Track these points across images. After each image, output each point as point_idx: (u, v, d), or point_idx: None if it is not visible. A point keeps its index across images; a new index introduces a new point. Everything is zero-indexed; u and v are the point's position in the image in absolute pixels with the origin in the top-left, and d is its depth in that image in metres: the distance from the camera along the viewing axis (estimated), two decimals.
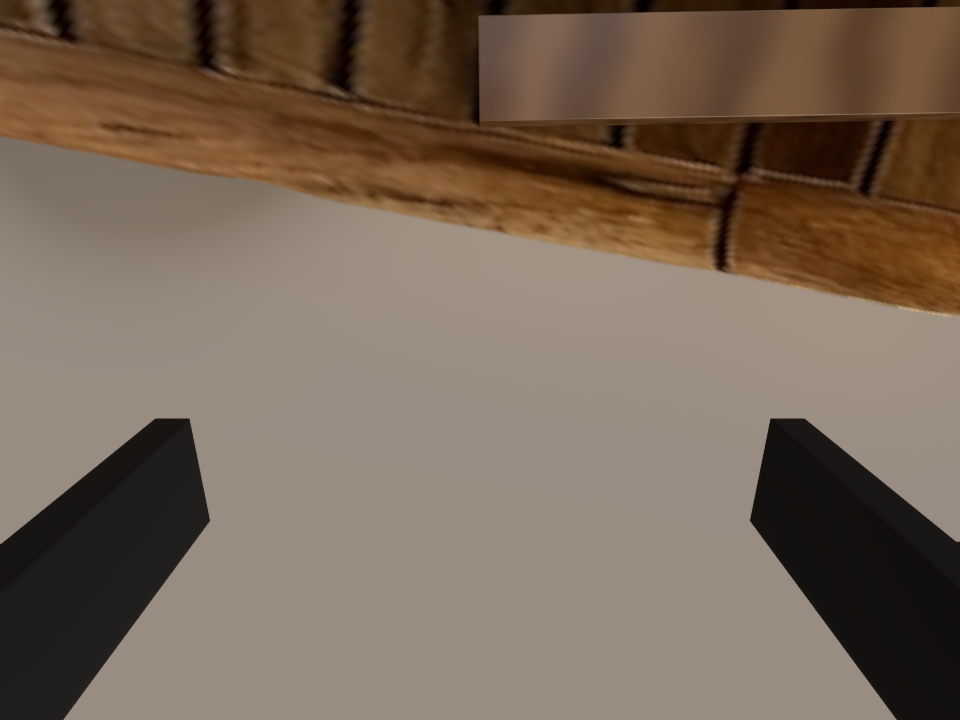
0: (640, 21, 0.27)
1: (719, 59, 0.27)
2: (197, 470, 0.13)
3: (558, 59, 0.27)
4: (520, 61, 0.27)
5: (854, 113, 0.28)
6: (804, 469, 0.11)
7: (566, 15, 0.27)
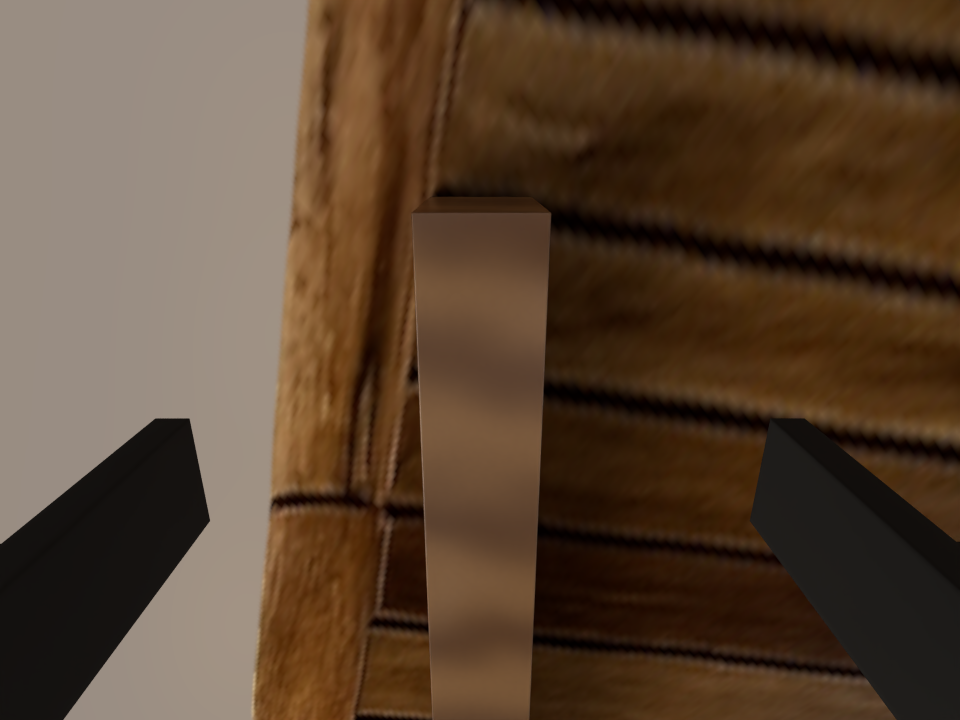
0: (532, 422, 0.21)
1: (487, 511, 0.23)
2: (197, 470, 0.13)
3: (491, 325, 0.20)
4: (491, 273, 0.19)
5: (430, 644, 0.25)
6: (803, 469, 0.11)
7: (543, 333, 0.20)
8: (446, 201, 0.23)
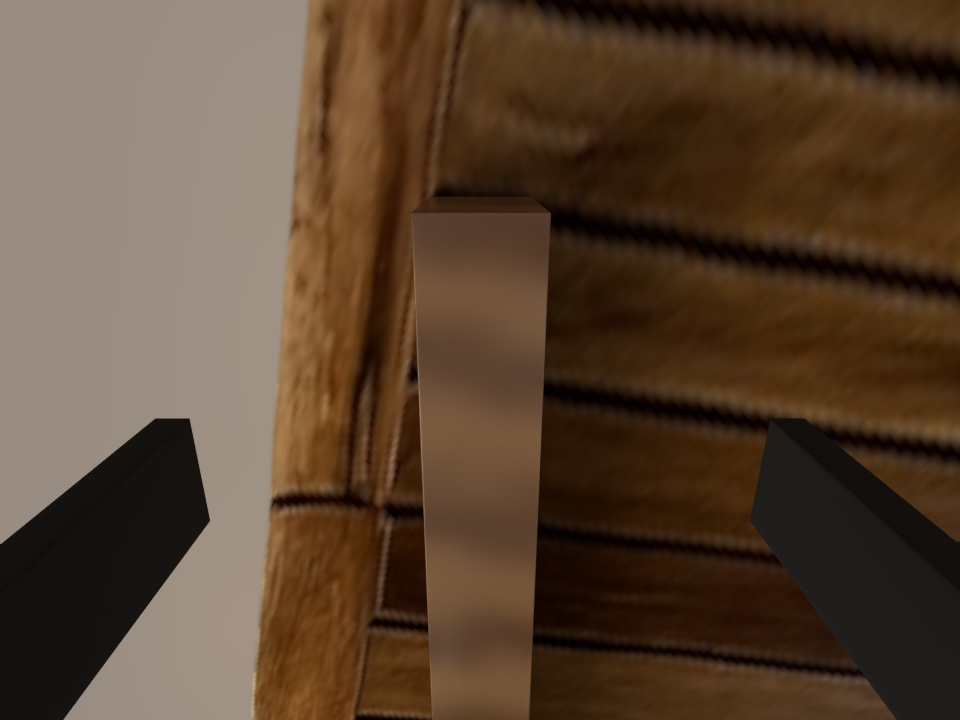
0: (531, 422, 0.21)
1: (487, 511, 0.23)
2: (197, 470, 0.13)
3: (491, 325, 0.20)
4: (491, 273, 0.19)
5: (430, 644, 0.25)
6: (803, 469, 0.11)
7: (543, 333, 0.20)
8: (446, 201, 0.23)
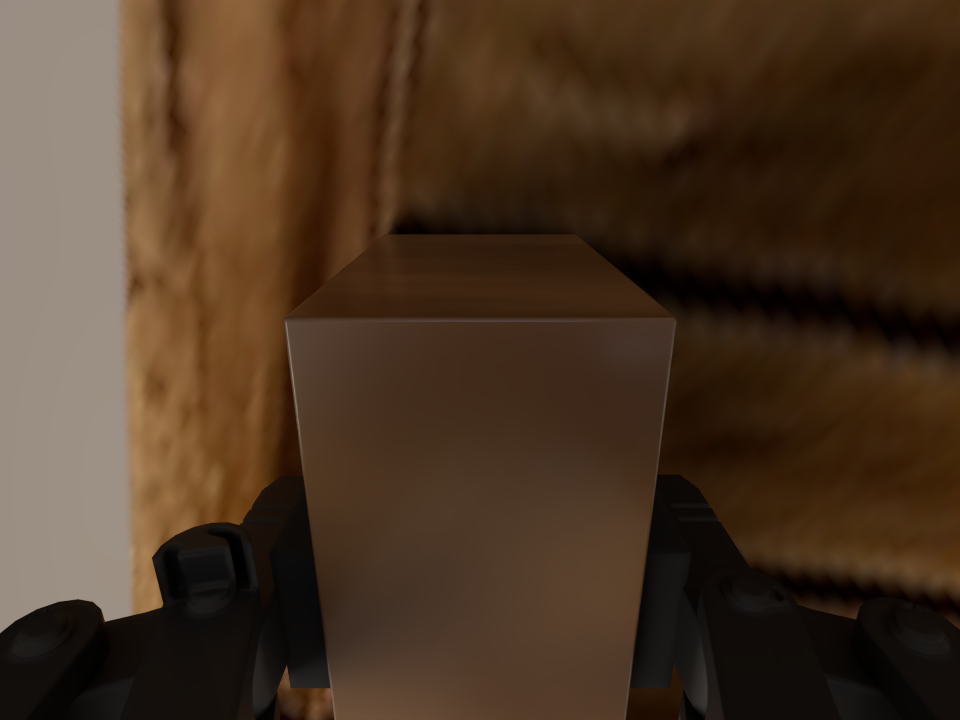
0: None
1: None
2: None
3: (506, 584, 0.08)
4: (507, 469, 0.07)
5: None
6: None
7: (636, 600, 0.08)
8: (407, 252, 0.11)
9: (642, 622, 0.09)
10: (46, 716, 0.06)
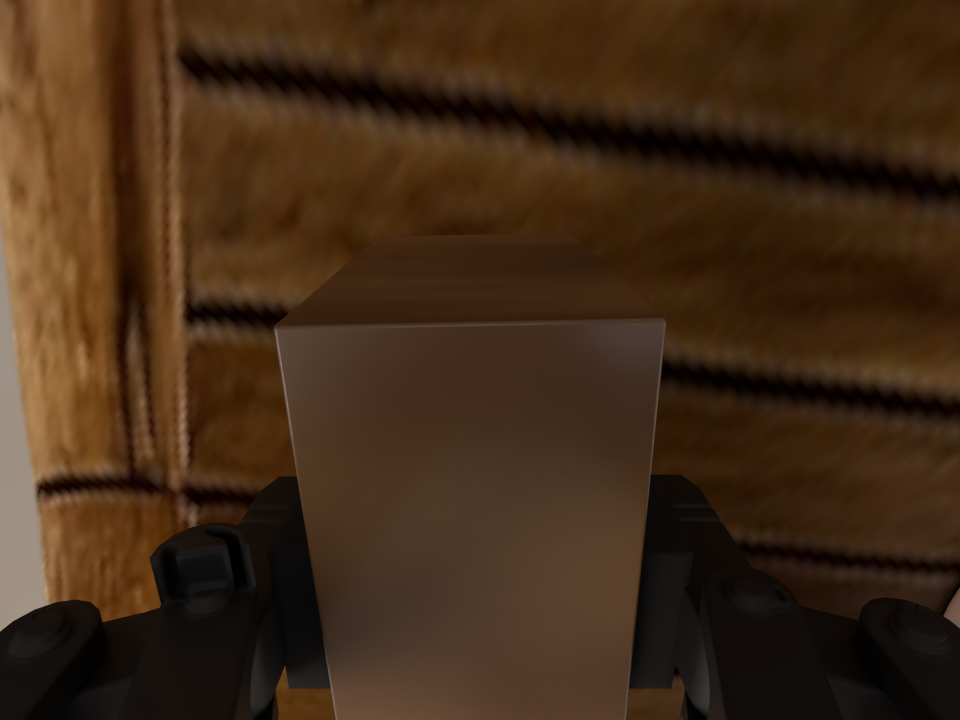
0: None
1: None
2: None
3: (503, 586, 0.08)
4: (501, 472, 0.07)
5: None
6: None
7: (633, 600, 0.08)
8: (400, 255, 0.11)
9: (644, 622, 0.09)
10: (43, 717, 0.06)
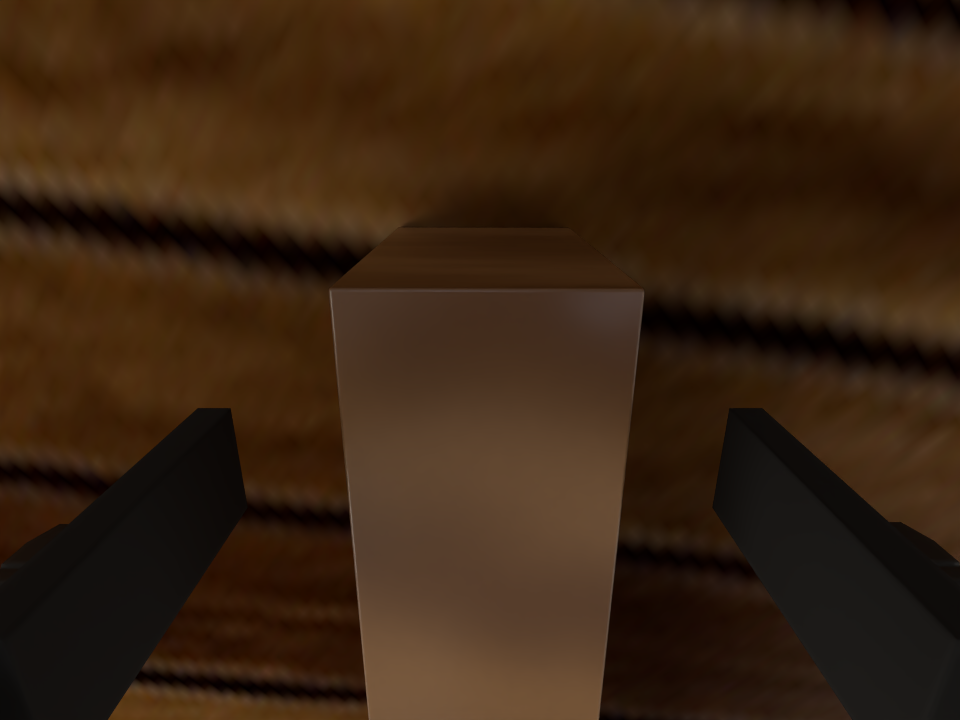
0: (583, 681, 0.11)
1: None
2: (237, 459, 0.13)
3: (507, 514, 0.10)
4: (508, 415, 0.09)
5: None
6: (757, 455, 0.12)
7: (615, 529, 0.10)
8: (421, 242, 0.12)
9: (939, 718, 0.07)
10: None
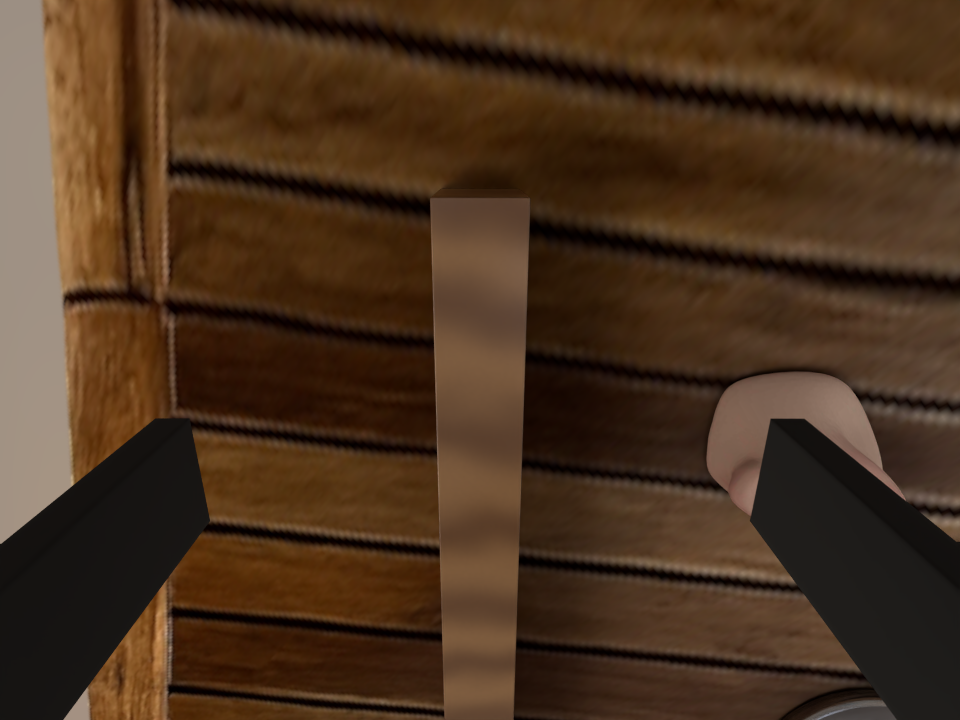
0: (517, 355, 0.29)
1: (484, 425, 0.30)
2: (197, 470, 0.13)
3: (487, 281, 0.27)
4: (487, 242, 0.27)
5: (440, 535, 0.33)
6: (804, 469, 0.11)
7: (525, 287, 0.27)
8: (454, 191, 0.30)
9: None
10: None
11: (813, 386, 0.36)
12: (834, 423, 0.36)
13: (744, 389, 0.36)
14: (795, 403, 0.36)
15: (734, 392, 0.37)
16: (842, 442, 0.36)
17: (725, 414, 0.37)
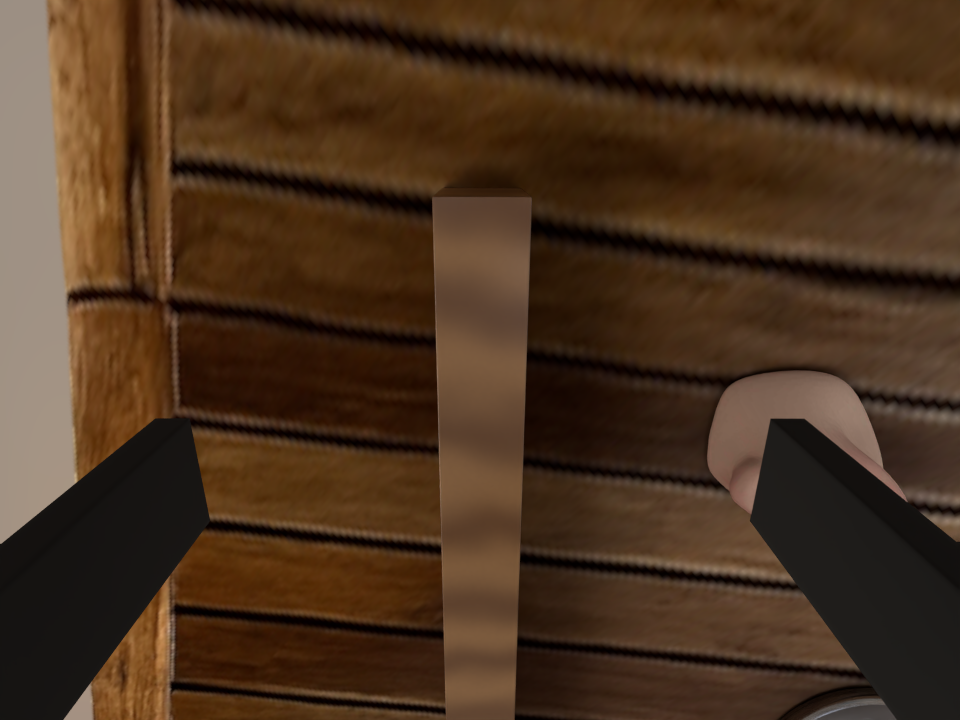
0: (519, 353, 0.29)
1: (486, 423, 0.30)
2: (198, 470, 0.13)
3: (489, 280, 0.27)
4: (489, 241, 0.27)
5: (442, 533, 0.33)
6: (804, 468, 0.11)
7: (527, 285, 0.28)
8: (455, 190, 0.30)
9: None
10: None
11: (814, 385, 0.36)
12: (834, 421, 0.36)
13: (745, 388, 0.37)
14: (796, 402, 0.36)
15: (735, 391, 0.37)
16: (843, 441, 0.36)
17: (726, 413, 0.37)
